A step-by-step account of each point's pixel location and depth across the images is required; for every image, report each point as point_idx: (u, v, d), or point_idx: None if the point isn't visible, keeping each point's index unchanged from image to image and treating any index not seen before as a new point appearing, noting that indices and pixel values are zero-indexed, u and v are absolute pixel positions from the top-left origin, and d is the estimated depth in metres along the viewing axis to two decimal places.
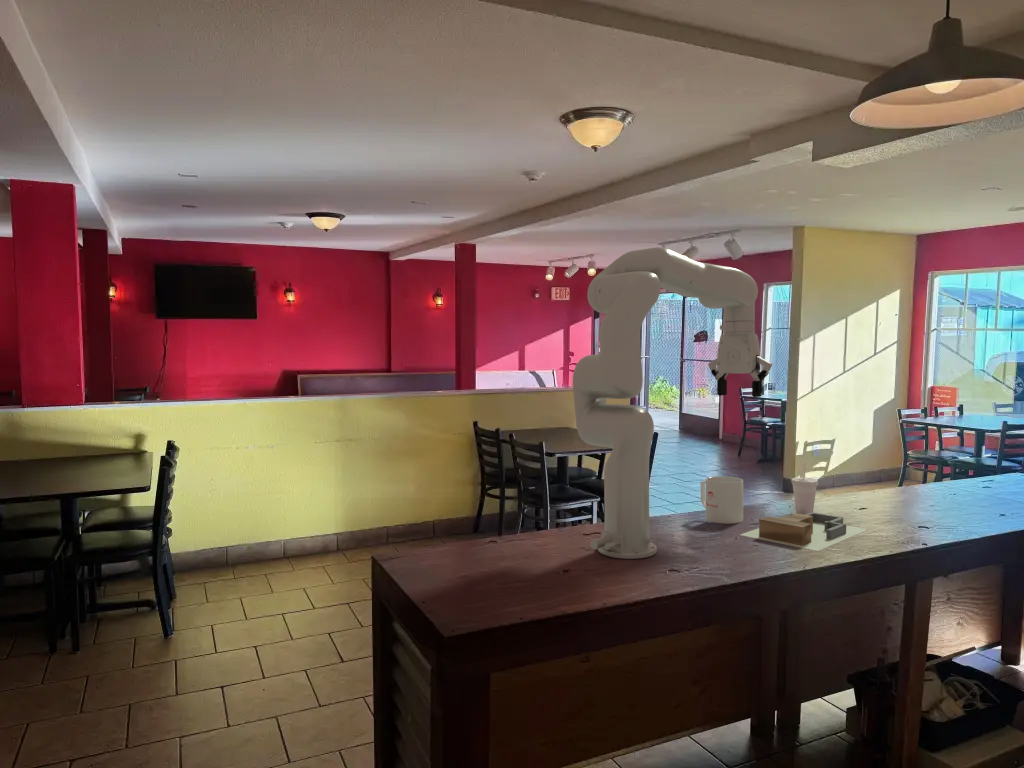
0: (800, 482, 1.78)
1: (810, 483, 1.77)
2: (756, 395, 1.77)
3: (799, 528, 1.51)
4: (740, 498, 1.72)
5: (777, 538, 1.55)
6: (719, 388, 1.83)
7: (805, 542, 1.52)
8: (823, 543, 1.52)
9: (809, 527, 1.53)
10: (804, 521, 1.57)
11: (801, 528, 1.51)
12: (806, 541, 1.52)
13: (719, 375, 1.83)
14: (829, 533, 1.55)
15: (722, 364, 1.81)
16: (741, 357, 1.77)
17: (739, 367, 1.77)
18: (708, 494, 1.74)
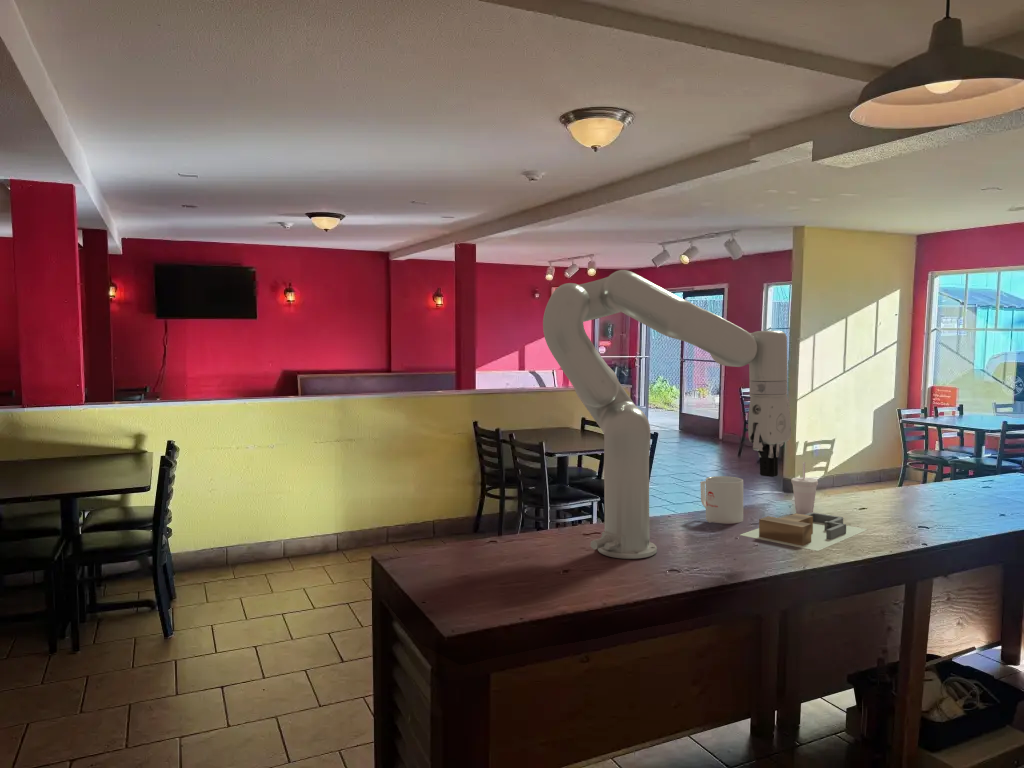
0: (800, 482, 1.78)
1: (810, 483, 1.77)
2: None
3: (799, 528, 1.51)
4: (740, 498, 1.72)
5: (777, 538, 1.55)
6: (774, 468, 1.49)
7: (805, 542, 1.52)
8: (823, 543, 1.52)
9: (809, 527, 1.53)
10: (804, 521, 1.57)
11: (801, 528, 1.51)
12: (806, 541, 1.52)
13: (771, 451, 1.48)
14: (829, 533, 1.55)
15: (773, 434, 1.46)
16: (786, 423, 1.49)
17: (785, 435, 1.49)
18: (708, 494, 1.74)
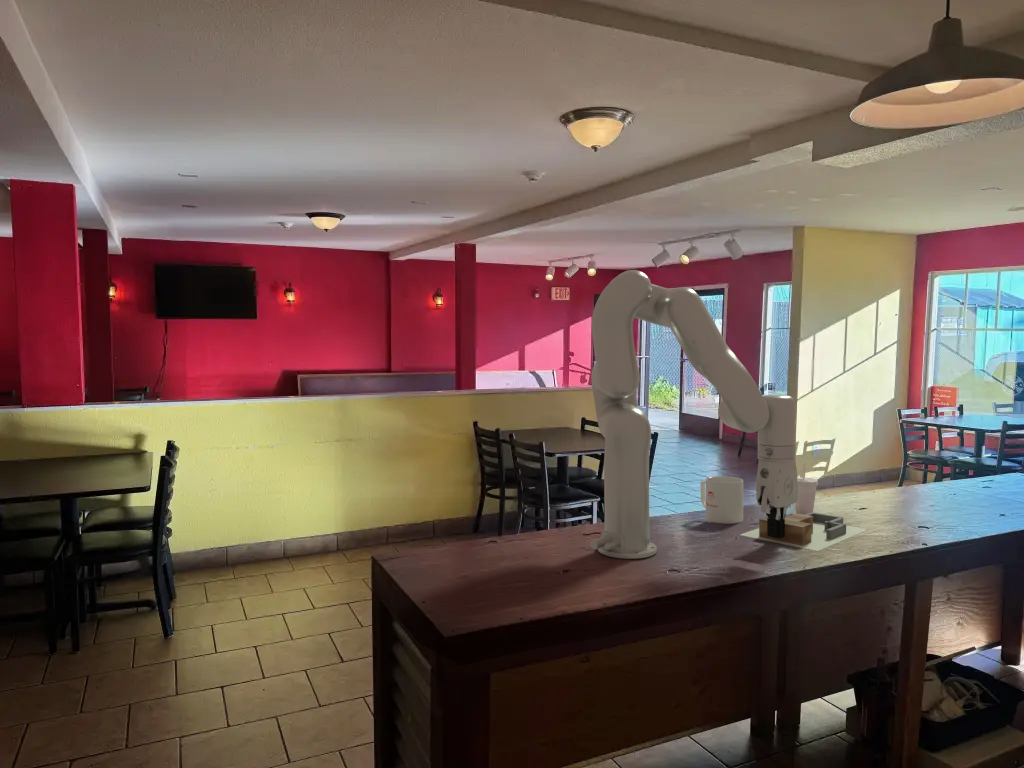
0: (800, 482, 1.78)
1: (810, 483, 1.77)
2: None
3: (799, 528, 1.51)
4: (740, 498, 1.72)
5: (777, 538, 1.55)
6: (781, 529, 1.52)
7: (805, 542, 1.52)
8: (823, 543, 1.52)
9: (809, 527, 1.53)
10: (804, 521, 1.58)
11: (801, 528, 1.51)
12: (806, 541, 1.52)
13: (779, 513, 1.51)
14: (829, 533, 1.55)
15: (780, 498, 1.49)
16: (793, 486, 1.52)
17: (792, 498, 1.52)
18: (708, 494, 1.74)
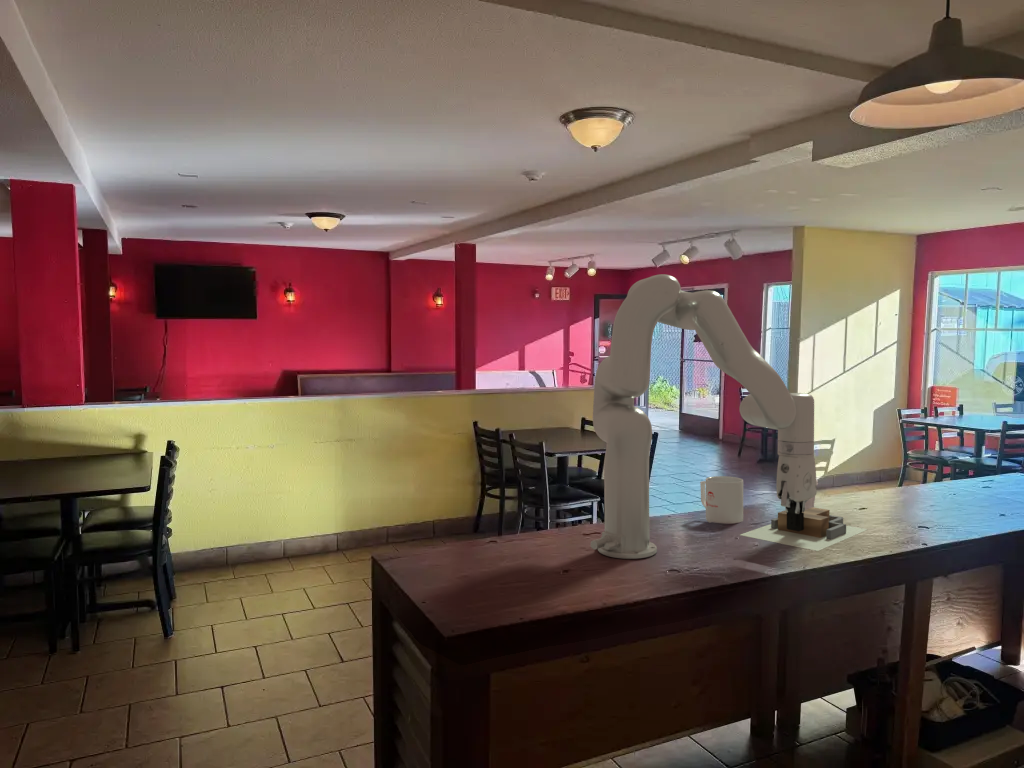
0: None
1: None
2: None
3: (817, 521, 1.57)
4: (740, 498, 1.72)
5: (795, 531, 1.61)
6: (801, 523, 1.57)
7: (823, 534, 1.57)
8: (823, 543, 1.52)
9: (826, 520, 1.59)
10: (821, 514, 1.63)
11: (819, 521, 1.57)
12: (824, 533, 1.58)
13: (798, 507, 1.57)
14: (829, 533, 1.55)
15: (800, 492, 1.54)
16: (812, 480, 1.58)
17: (811, 492, 1.57)
18: (708, 494, 1.74)
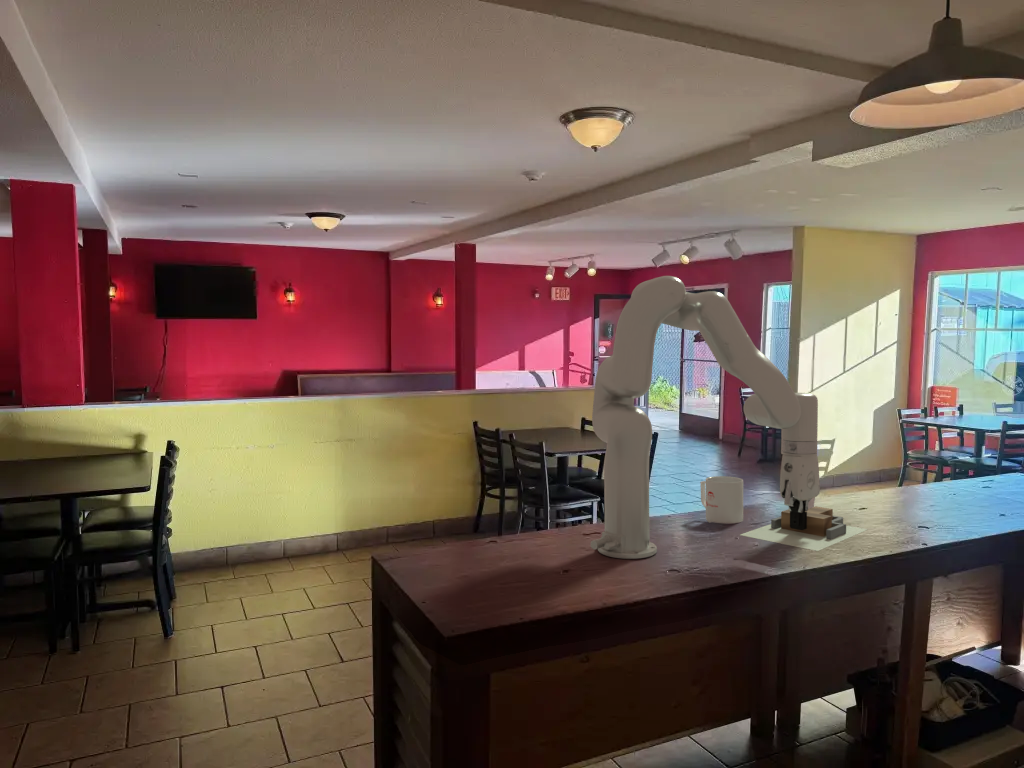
0: None
1: None
2: None
3: (820, 520, 1.58)
4: (740, 498, 1.72)
5: (799, 530, 1.62)
6: (804, 522, 1.58)
7: None
8: (823, 543, 1.52)
9: (830, 519, 1.60)
10: (824, 513, 1.64)
11: (822, 520, 1.58)
12: None
13: (801, 506, 1.58)
14: (829, 533, 1.55)
15: (803, 491, 1.55)
16: (815, 480, 1.59)
17: (814, 491, 1.58)
18: (708, 494, 1.74)
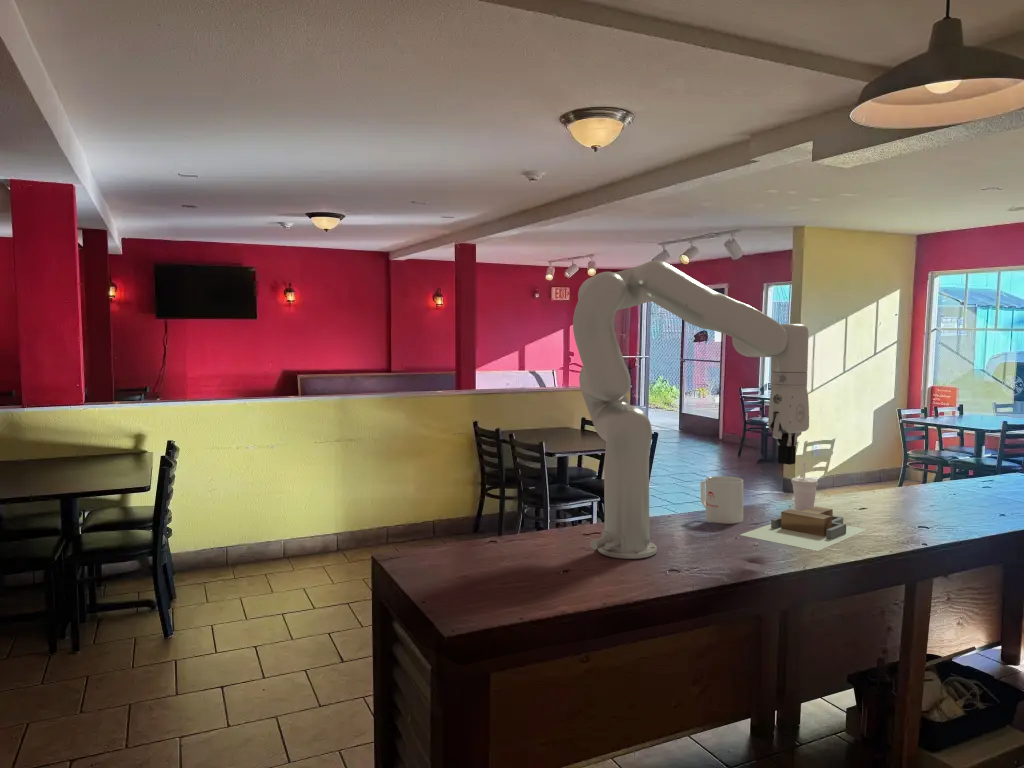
0: (800, 482, 1.78)
1: (810, 483, 1.77)
2: None
3: (820, 520, 1.58)
4: (740, 498, 1.72)
5: (799, 529, 1.62)
6: (792, 456, 1.54)
7: None
8: (823, 543, 1.52)
9: (830, 519, 1.60)
10: (824, 513, 1.64)
11: (822, 520, 1.58)
12: None
13: (790, 439, 1.54)
14: (829, 533, 1.55)
15: (792, 423, 1.51)
16: (805, 413, 1.55)
17: (803, 425, 1.55)
18: (708, 494, 1.74)
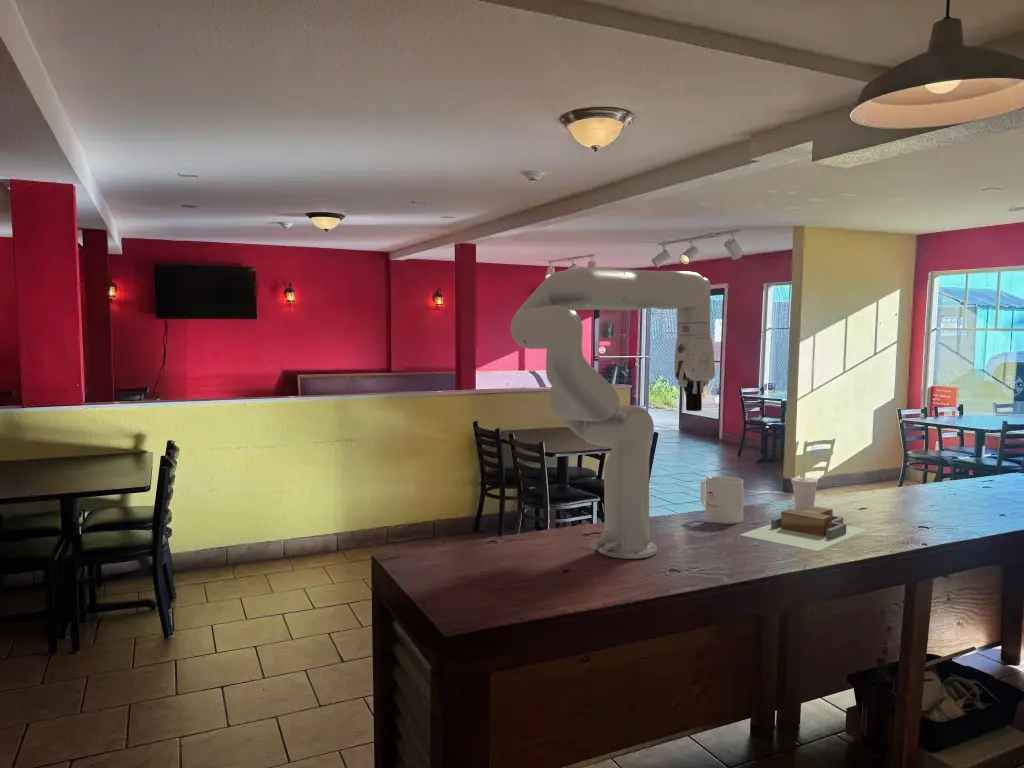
0: (800, 482, 1.78)
1: (810, 483, 1.77)
2: None
3: (820, 520, 1.58)
4: (740, 498, 1.72)
5: (799, 529, 1.62)
6: (698, 403, 1.63)
7: None
8: (823, 543, 1.52)
9: (830, 519, 1.60)
10: (824, 513, 1.64)
11: (822, 520, 1.58)
12: None
13: (695, 387, 1.62)
14: (829, 533, 1.55)
15: (696, 371, 1.60)
16: (709, 362, 1.63)
17: (708, 373, 1.63)
18: (708, 494, 1.74)
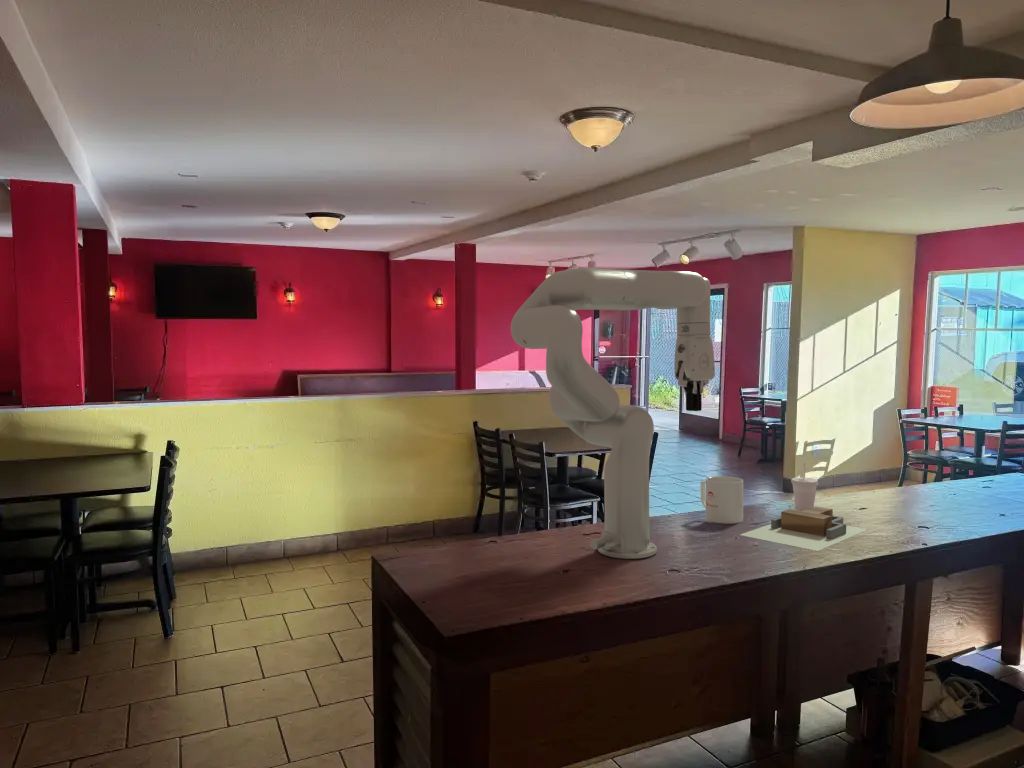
0: (800, 482, 1.78)
1: (810, 483, 1.77)
2: None
3: (820, 520, 1.58)
4: (740, 498, 1.72)
5: (799, 529, 1.62)
6: (698, 403, 1.63)
7: None
8: (823, 543, 1.52)
9: (830, 519, 1.60)
10: (824, 513, 1.64)
11: (822, 520, 1.58)
12: None
13: (695, 387, 1.62)
14: (829, 533, 1.55)
15: (696, 371, 1.60)
16: (709, 362, 1.63)
17: (708, 373, 1.63)
18: (708, 494, 1.74)
